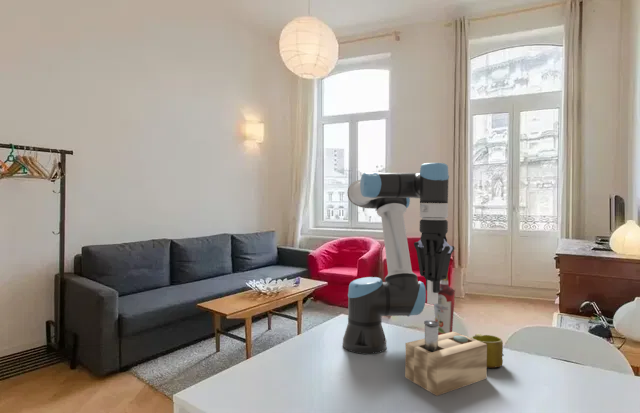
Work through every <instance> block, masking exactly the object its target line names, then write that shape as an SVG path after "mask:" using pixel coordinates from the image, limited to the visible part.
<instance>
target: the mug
mask: <svg viewBox="0 0 640 413" xmlns="http://www.w3.org/2000/svg"><path fill="white" fill-rule="evenodd" d="M470 338H472V339H475V340H477V341H480V342H483V343H485V344H487V369H495V368H499V367H502V365H503V362H504V359H503V353H504V351H503V350H504V344H503V343H504V342H503V339H502V338H501V337H499V336H496V335H491V334H482V333H476V334H475V335H472V336H470Z"/></svg>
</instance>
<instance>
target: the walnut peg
mask: <svg viewBox="0 0 640 413" xmlns="http://www.w3.org/2000/svg"><path fill="white" fill-rule="evenodd" d="M464 336H465V335H464ZM464 336H454V337H453V341H455V342H457V343H460V344H464V343H468V338H466V337H464Z"/></svg>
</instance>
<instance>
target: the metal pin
mask: <svg viewBox="0 0 640 413" xmlns="http://www.w3.org/2000/svg"><path fill="white" fill-rule="evenodd" d="M423 324H424V338H425V350H428V351H430V352H435V351H438V326H439V322H436V321H435V320H429V319H428V320H424V322H423Z"/></svg>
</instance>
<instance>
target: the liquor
mask: <svg viewBox="0 0 640 413" xmlns="http://www.w3.org/2000/svg"><path fill="white" fill-rule="evenodd" d="M448 273H449V271H448V272H447V277H446V279H444V280H441V281H440V292H439V293H438V304H433V311H434V315H433V316H434V321H436V322H439V326H438V335H441V334H445V333H449V332H453V326H454V325H453V323H454V308H455V294H456V291H455V289H454V288H453V287H451V286H449V276H448V275H449V274H448Z"/></svg>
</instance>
